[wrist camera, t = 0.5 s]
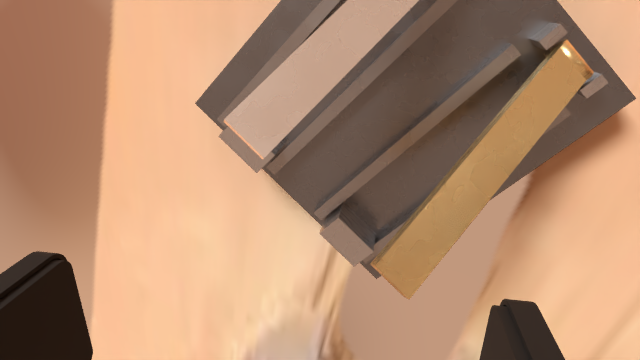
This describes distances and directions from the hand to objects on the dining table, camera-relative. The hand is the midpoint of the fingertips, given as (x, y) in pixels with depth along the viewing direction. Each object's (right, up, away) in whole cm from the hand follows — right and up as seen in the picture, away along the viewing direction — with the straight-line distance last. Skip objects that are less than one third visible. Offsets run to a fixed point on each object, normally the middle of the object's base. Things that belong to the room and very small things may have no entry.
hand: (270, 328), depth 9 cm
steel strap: (+4, +13, +17) cm, 21 cm away
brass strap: (+12, +5, +18) cm, 22 cm away
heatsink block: (+8, +11, +29) cm, 32 cm away
